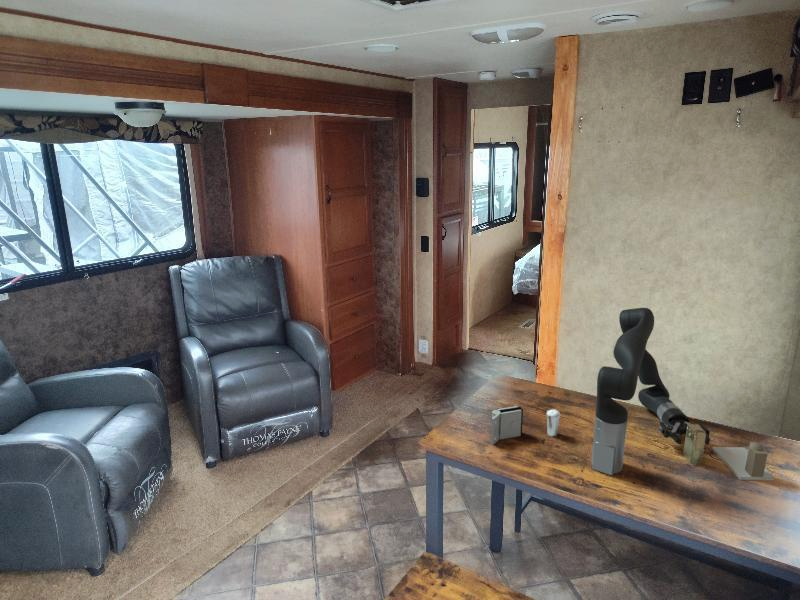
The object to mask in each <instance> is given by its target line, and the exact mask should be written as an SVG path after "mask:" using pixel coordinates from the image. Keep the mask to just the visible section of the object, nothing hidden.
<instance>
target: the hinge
mask: <svg viewBox="0 0 800 600" xmlns="http://www.w3.org/2000/svg"><path fill="white" fill-rule="evenodd" d="M523 414H524V409H523V408H522V407H521V406H518V405H513V406H509V407H503V408H498V409H494V410H492V411H491V425H490V427H491V428H490V429H491V430H490V445H491V446H494V445H495V444H496V443H498V442H499V440H505V439H509V438H516V437H521V435H523V422H524V421H523V420H524V419H523V417H524V415H523Z"/></svg>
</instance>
